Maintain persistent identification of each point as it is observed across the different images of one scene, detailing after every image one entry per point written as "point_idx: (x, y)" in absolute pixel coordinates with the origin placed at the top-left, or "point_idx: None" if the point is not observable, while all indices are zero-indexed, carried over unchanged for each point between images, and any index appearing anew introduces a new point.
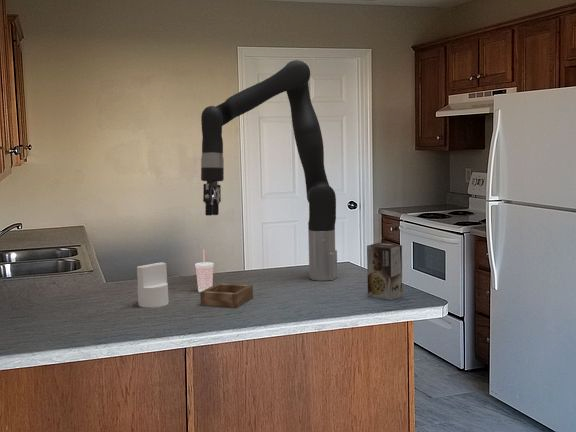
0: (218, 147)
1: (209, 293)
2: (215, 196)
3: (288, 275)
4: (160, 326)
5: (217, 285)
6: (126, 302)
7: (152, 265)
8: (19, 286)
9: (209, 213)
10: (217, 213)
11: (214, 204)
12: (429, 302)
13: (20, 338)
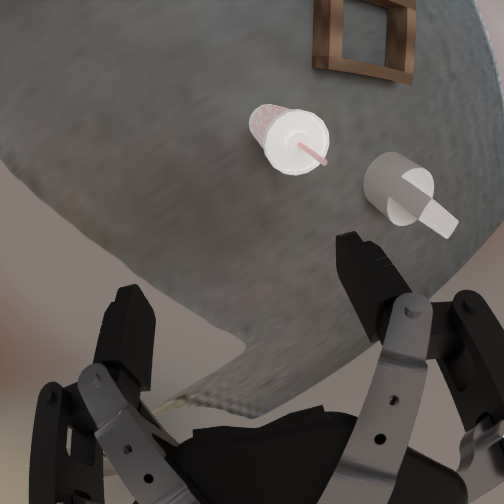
0: None
1: (412, 62)
2: (237, 431)
3: (15, 14)
4: (479, 109)
5: (351, 61)
6: (379, 229)
7: (444, 216)
8: (292, 390)
9: (371, 247)
10: (135, 292)
11: (138, 377)
12: None
13: (483, 235)
